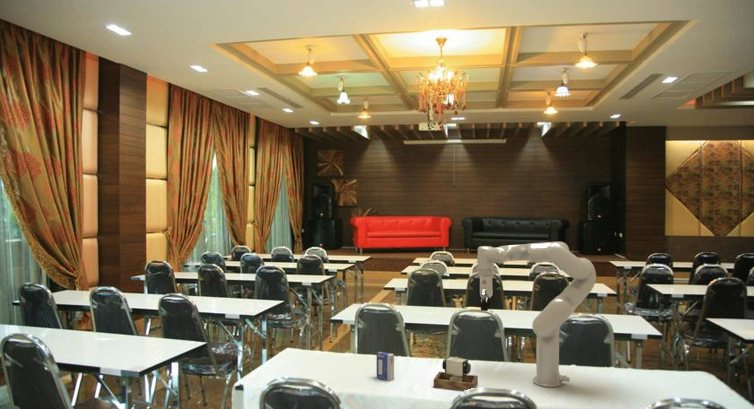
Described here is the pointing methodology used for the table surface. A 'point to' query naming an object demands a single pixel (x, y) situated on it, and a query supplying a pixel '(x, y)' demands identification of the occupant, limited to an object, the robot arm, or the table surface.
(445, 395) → the table surface
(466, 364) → the pneumatic valve
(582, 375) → the table surface
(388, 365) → the walkman
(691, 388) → the table surface
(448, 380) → the wooden tray
